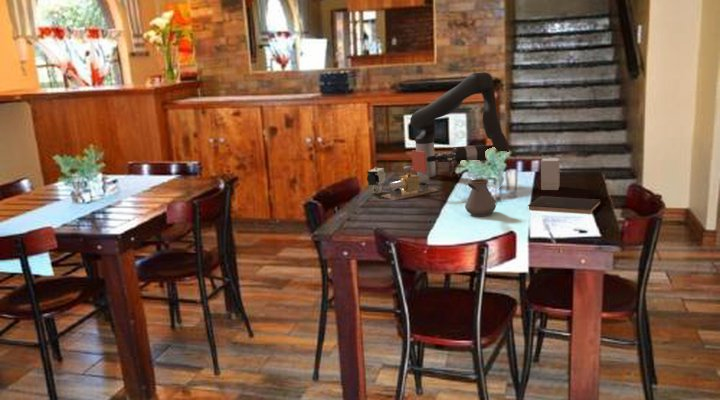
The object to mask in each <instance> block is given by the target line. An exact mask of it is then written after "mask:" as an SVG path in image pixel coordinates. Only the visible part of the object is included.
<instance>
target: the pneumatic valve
mask: <svg viewBox="0 0 720 400" xmlns="http://www.w3.org/2000/svg"><path fill="white" fill-rule="evenodd" d="M366 173H367V176H366V181H367V184H368V186H372V193H374V194H378V195H379V193H380V194H382V193H383V188H382V187H383V185H382V183H385V182H386V180H387V172H386V169H385V167H376V166H375V167H374V168H372V169H369V170H367V172H366Z"/></svg>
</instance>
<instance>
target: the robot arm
mask: <svg viewBox="0 0 720 400" xmlns="http://www.w3.org/2000/svg"><path fill="white" fill-rule="evenodd" d="M478 94H479V95H480V94H481V96H482V99H483V106H484V107H483V113H482V124H483V125H482V126H483V129H484V133H485V135H486V137H487V139H488V140H491V143H492V144H491V145H490V144H489V145H484V144H479V145H465V146H464V145H462V146H457V147H453V148H451V151H450V152H449V151H445V152H438V153H435V140H434V139H435V137H436V119H439V118H442V117H445V116H447V115H450V114H451V113H453V112H454V111H456V110H457V109H459V108H460V107H461V106H462V103H463V101H464V100H466V99H467V98H469V97H472V96H473V95H478ZM409 120H410V121H409V124H410V126H411V127H412V128H413V129H414V130H418V131H420V133H419V134H418V135H417V136H416V137H415V138H414V139H415V140H414V141H415V151H423V152H425V153H426V170H427V173H422V172H416V173H417V175H418V176H419V177H421V176H428V177H429V178H433V177H436V162H437V163H453V164H454V165H461V164H460V161H461V160H480V161H479V162H484V161H487V160H486V158H485V151H486V150H487V149H489V148H492V147H495V148H496V149H497V150H498V151H507V152H509V153H510V145H509V142H508V140H507V138H506V137H505V135H504V133H503V130H502V126H501V124H500V119H499V116H498V110H497V102H496V95H495V85H494V80H493V77H492V76H491V74H490V73H488V72H486V71H483V72H473V73H470V74H468V76H467V77H466V78H464V79H463V80H462V81H460V83H458V84H457V85H456V86H455V87H453V88H451V89H449V90H448V91H446V92H444V93H443V94H442V95H440V96H439V97H437V98H436V99H435V100H434V101H432V102H430V103H429V104H428V105H426V106H425V107H423V108H421V109H419V110H417V111H415V112H413V113H412V115H411V116H410V119H409Z"/></svg>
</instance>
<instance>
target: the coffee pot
mask: <svg viewBox="0 0 720 400" xmlns="http://www.w3.org/2000/svg"><path fill="white" fill-rule="evenodd" d="M469 182H470V183H466V185H464V186H465V187H464V188H465V189H467V190H470V189H471V190H470V193H469V196H468V197H467V200H466V204H465V207H464V208H465V210H466V211H467V213H468V214H470V215H471V216H473V217H487V216H490V215H492V213H493V212H494V211H495V210H496V207H497V205H496V202H495V201H494V198H493V196H492V194H491V192H490V191H489V188H488V185H487V184H488V182H489V180H488V179H483V178H477V179H473V180H472V179H471V180H470V181H469ZM467 186H468V187H469V188H467Z"/></svg>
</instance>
